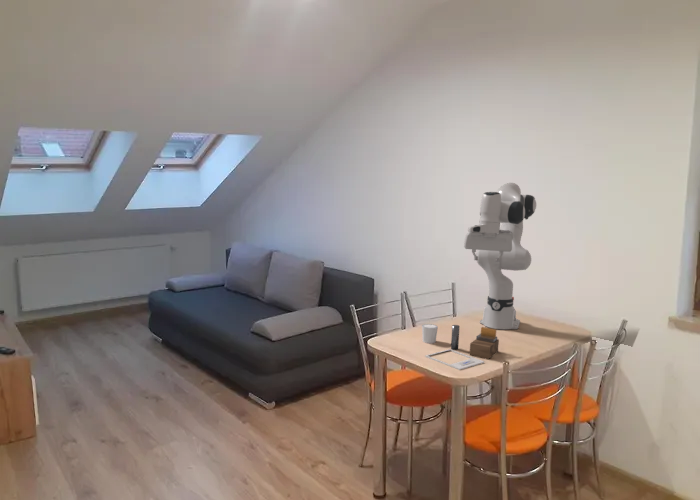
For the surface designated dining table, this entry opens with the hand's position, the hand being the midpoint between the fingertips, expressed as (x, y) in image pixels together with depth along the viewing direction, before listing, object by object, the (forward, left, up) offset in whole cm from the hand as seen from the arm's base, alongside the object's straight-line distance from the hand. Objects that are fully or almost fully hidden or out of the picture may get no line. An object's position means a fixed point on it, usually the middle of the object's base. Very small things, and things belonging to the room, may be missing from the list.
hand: (486, 261), depth 240 cm
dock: (+17, +7, -36) cm, 40 cm away
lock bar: (+14, +7, -31) cm, 34 cm away
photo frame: (+31, 0, -36) cm, 48 cm away
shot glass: (+16, -18, -36) cm, 43 cm away
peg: (+19, -5, -36) cm, 41 cm away
